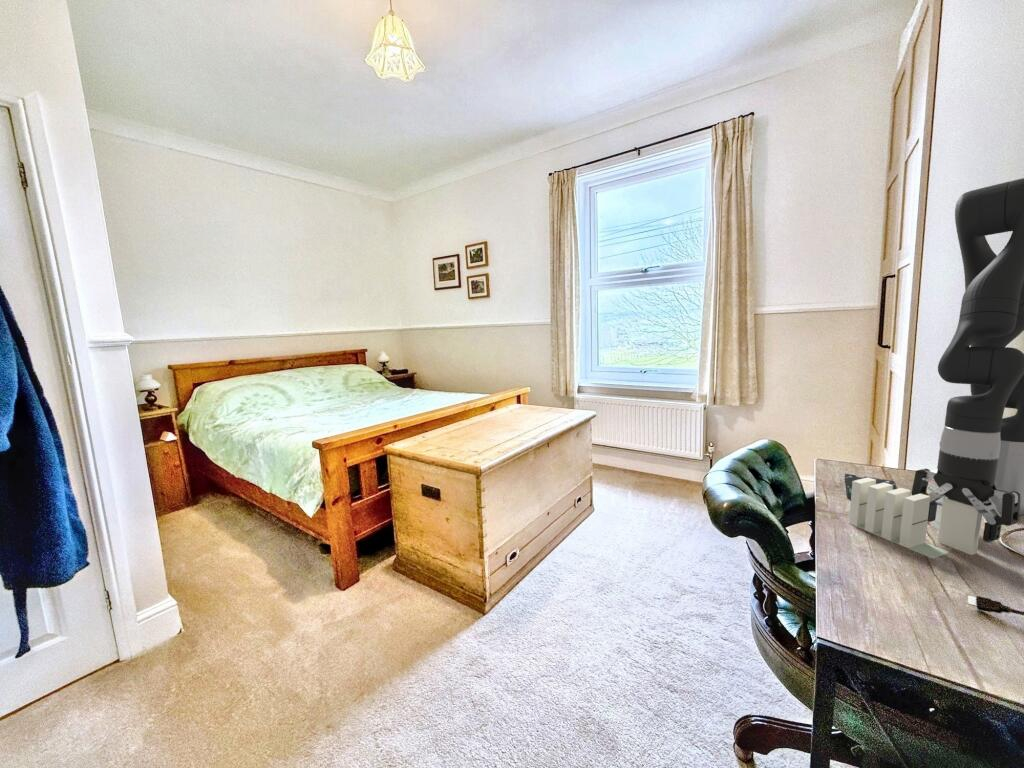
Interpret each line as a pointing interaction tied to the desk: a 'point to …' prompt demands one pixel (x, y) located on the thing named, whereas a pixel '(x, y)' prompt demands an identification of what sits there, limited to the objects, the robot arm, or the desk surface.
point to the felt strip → (922, 548)
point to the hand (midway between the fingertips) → (957, 530)
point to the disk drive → (851, 478)
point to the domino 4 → (914, 520)
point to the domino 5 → (959, 526)
